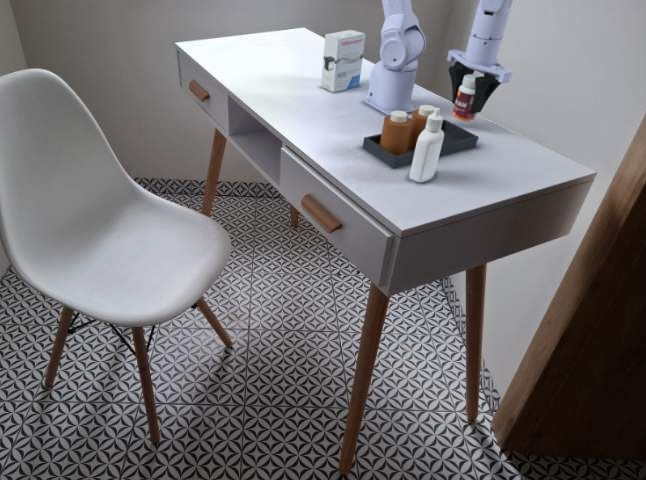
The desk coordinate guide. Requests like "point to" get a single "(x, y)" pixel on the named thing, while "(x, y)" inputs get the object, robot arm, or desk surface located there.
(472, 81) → the pill bottle
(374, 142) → the tray
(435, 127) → the eye dropper bottle
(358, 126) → the desk surface
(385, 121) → the amber bottle far
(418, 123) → the amber bottle middle
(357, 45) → the ink box
